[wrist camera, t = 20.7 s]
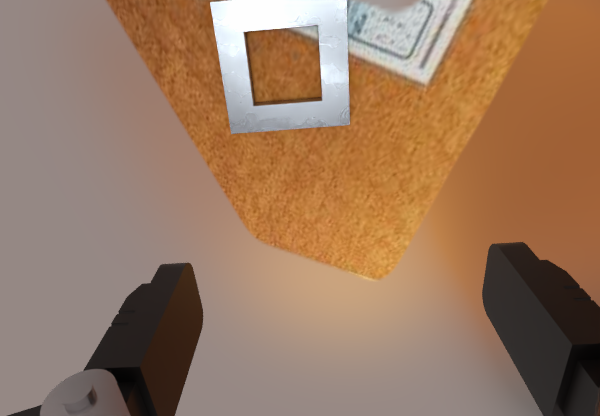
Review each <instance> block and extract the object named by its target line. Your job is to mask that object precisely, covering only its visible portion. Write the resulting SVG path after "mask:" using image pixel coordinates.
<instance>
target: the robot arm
mask: <svg viewBox="0 0 600 416" xmlns="http://www.w3.org/2000/svg"><path fill="white" fill-rule="evenodd" d="M482 297H483V304H484V308H485V311H486V314H487V316H488V317H489V319H490V321H491V323H492V325H493V326H494V328H495V330H496V332H497V334H498V335H499V337H500V339H501V341H502V342H503V344H504V346H505V348H506V350H507V351H508V353H509V355H510V357H511V359H512V360H513V362H514V364H515V366H516V367H517V369H518V371H519V373H520V375H521V376H522V378H523V380H524V382H525V384H526V385H527V387H528V389H529V391H530V393H531V394H532V396H533V398H534V399H535V402H536V403H537V405H538V407H539V409H540V410H541V412H542V414H543V416H600V307H599V306H598V305H597V304H596V303H595V302H594V301H592V300H591V299H590V298H591V297H590V296H589V295H588V294H587V293H586V292H585V291H584V290H583V289H582V288H580V287H579V284H578V283H577V282H576V281H575V280H574V279H573V278H572V277H571V276H570V275H569V274H568V273H567V272H566V271H565V270H563V269H561V268H560V267H558V266H556V265H555V264H553V263H551V262H550V261H548V260H539V259H538V257H537V256H536V255H535V254H534V253H533V252H532V251H531V250H530V248H529V247H528V246H527V245H526V244H525V243H523V242H516V243H499V244H492V245H491V246H490V248H489V251H488V257H487V264H486V271H485V277H484V284H483V292H482ZM111 324H112V326H111V327H109V328H108V330H107V332H106V334H105V335H104V337H103V338H102V340H101V342H100V344H99V345H98V347H97V349H96V350H95V352H94V354H93V355H92V357H91V359H90V360H89V362H88V364H87V366H86V367H85V369H84V371H82V372H79V373H77V374H74V375H72V376H70V377H68V378H67V379H65V380H64V381H62V382H61V383H60V384H58V385H57V386H56V387H55V388H54V389H53V390H52V391H51V392H50V393H49V394H48V396H47V397H46V399H45V400H44V402H43V404H42V405H40V406H37V407H34V408H31V409H27V410H24V411H21V412H18V413H14V414H11V415H8V416H175V413H176V410H177V406H178V403H179V400H180V397H181V394H182V390H183V387H184V384H185V381H186V378H187V375H188V371H189V368H190V365H191V362H192V359H193V356H194V352H195V349H196V346H197V343H198V340H199V336H200V333H201V330H202V325H203V309H202V304H201V299H200V295H199V291H198V287H197V283H196V279H195V275H194V271H193V267H192V265H191V264H190V263H176V264H162V265H160V267H159V268H158V270H157V272H156V274H155V276H154V277H153V279H152V281H151V283H148V284H141V285H140V286H139V287H138V288H137V289H136V290H135V291H133V292H132V293H131V294H130V295H129V296H128V297H127V298H126V300H125V301H124V303H123V305H122V306H121V308H120V310H119V314H117V315H116V317H115V318H114V320H113V322H112V323H111Z"/></svg>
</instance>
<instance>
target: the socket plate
mask: <svg viewBox="0 0 600 416" xmlns="http://www.w3.org/2000/svg"><path fill="white" fill-rule="evenodd" d="M210 5H211V11H212V17H213V23H214V30H215V36H216V42H217V48H218V54H219V60H220V67H221V73H222V79H223V85H224V91H225V97H226V104H227V110H228V116H229V122H230V128H231V134H235V133H249V132H262V131H275V130H288V129H302V128H315V127H328V126H342V125H350V110H349V74H348V37H347V0H230V1H220V2H210ZM313 25H318V36H319V54H320V71H321V89H322V97H321V98H308V99H295V100H283V101H270V102H257V103H255V98H254V91H253V83H252V75H251V68H250V60H249V52H248V45H247V37H246V31H256V30H267V29H279V28H290V27H301V26H313Z"/></svg>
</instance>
